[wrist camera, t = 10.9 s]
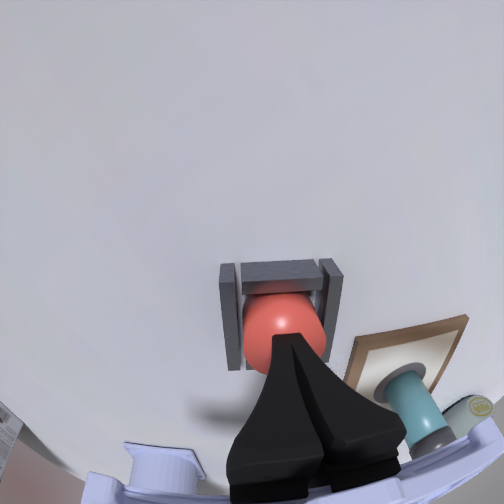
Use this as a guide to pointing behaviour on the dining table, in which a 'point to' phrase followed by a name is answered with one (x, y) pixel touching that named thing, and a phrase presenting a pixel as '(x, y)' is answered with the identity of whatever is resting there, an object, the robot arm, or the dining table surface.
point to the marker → (418, 414)
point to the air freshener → (468, 414)
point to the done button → (278, 324)
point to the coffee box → (7, 435)
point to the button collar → (276, 281)
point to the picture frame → (402, 356)
